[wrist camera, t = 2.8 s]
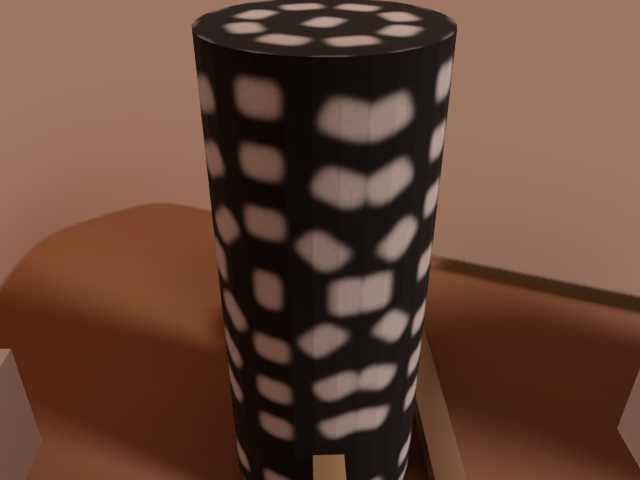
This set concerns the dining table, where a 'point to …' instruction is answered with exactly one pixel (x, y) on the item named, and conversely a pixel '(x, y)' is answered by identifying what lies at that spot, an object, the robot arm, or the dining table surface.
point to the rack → (431, 425)
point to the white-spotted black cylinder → (324, 221)
